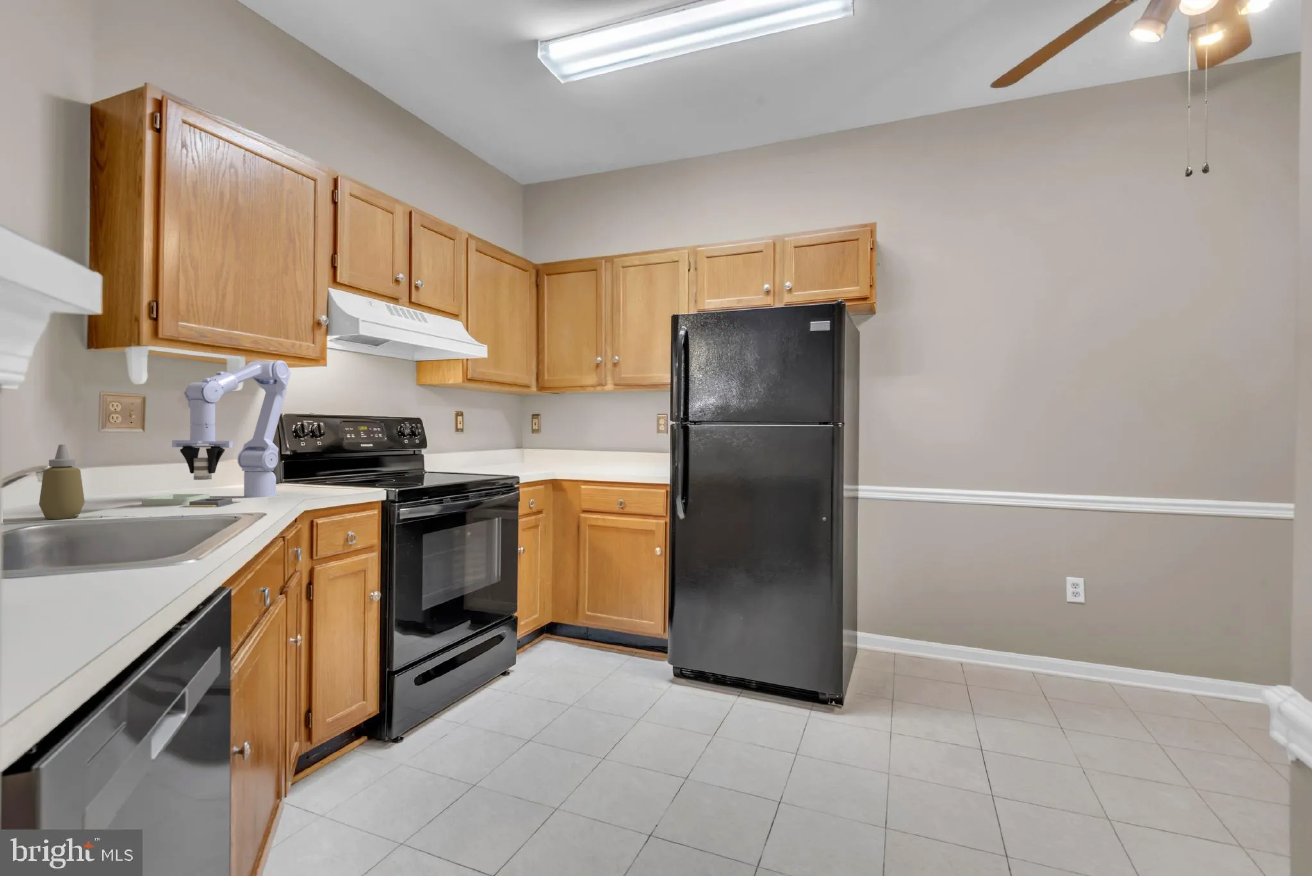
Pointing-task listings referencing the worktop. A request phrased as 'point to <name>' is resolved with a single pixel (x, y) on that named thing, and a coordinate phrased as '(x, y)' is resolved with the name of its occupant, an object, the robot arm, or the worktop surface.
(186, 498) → the parts tray
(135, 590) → the worktop surface
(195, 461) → the cylinder
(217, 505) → the fuse holder
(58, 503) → the squeeze bottle
